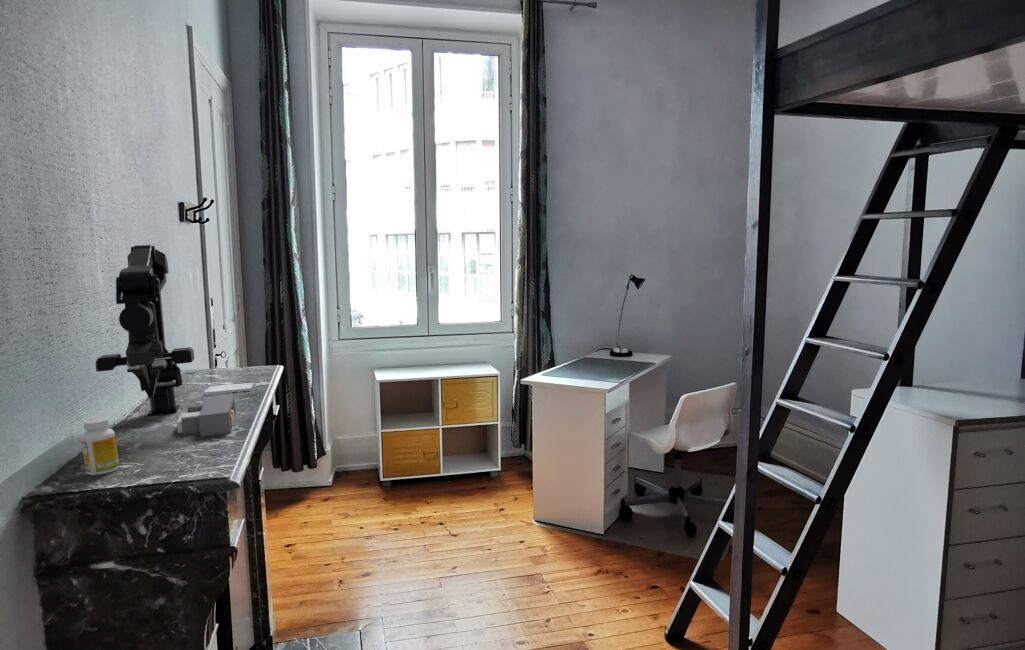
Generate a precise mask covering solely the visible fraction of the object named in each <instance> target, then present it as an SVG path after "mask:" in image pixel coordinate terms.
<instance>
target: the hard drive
mask: <svg viewBox="0 0 1025 650" xmlns="http://www.w3.org/2000/svg"><path fill="white" fill-rule="evenodd" d="M255 385H256V386H257V383H256V382H245V383H234V384H233V383H232V384H222V385H209V387H208V388H206V389H205V390H204V391H203V396H205V397H207V396H216V395H217V394H218V395H224V393H229V394H232V393H231V392H240V391H250V392H252V391H253V390H254V389H255V387H256V386H255ZM253 388H254V389H253ZM252 389H253V390H252ZM240 393H241V392H240Z"/></svg>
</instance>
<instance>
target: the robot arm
mask: <svg viewBox="0 0 1025 650" xmlns="http://www.w3.org/2000/svg"><path fill="white" fill-rule="evenodd" d="M168 264H169V263H168V259H167V255H166V254H165V253H164V252H162V251H160V250H158V249H156V247H155V245H151V244H142V245H139V244H138V245H133V246H131V247H130V253H128V255H127V267H124V268H122V269H121V270H120V271H119V274H118V276H116V279H115V304H116V305H121V304H122V305H124V308H123V309H122V310H121V312H120V314H119V317H118V322H119V325H120V326H121V328H122V329H123V330H125V331H126V332H127V333H128V344H127V347H126V350H125V356H122V355H121V354H120V353H113V354H104V355H101V356H99V357H98V358H96V360H95V371H96V372H106V371H107V372H108V371H113V370H114V369H115V368H116V367H119V366H121V367H122V366H127V369H126V372H127V373H132V374H133V375H134V376H135V378H137V379H138V381H139V385H140V390H141V392H144V391H145V394H146V395H147V397H148V398H149V406H150V410H149V411H148V412H147V416H153V415H154V416H157V415H163V414H171V413H177V412H178V410H179V409H180V404H177V401H176V391H175V387H176V388H178V387H181V386H183V378H182V374H181V373H182V372H181V368H180V367H179V366H178V365H179V364H181V365H182V364H189V363H192V362H194V360H195V352H194V349H193V348H192V347H179V348H173V349H172V350H171V352H170V351H169V350H168V349H167V348H166V336H165V326H164V325H165V324H164V316H163V314H164V313H163V303H162V293H161V292H162V290H163V289H164V287H165V284H167V275H168V274H169V265H168Z"/></svg>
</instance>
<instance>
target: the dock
mask: <svg viewBox="0 0 1025 650" xmlns="http://www.w3.org/2000/svg"><path fill="white" fill-rule="evenodd" d="M186 410H187V412H186V413H191V412H199V411H200V414H199V415H198V416H190V417H182V418H181V422H182V431H183V432H182V435H188V434H196V432H197V433H200V437H207V435H209V436H215V434H217V435H222V434H230V433H232V428H233V426H232V425H234V420H235V417H234V416H236V415H235V414H236V413H235V412H237V411H236V402H235V393H229V394H218V395H207V396H206V398H205V401H204V402H203V404H200V405H199V404H198V405H191V406H187V408H186Z"/></svg>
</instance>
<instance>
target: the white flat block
mask: <svg viewBox="0 0 1025 650" xmlns="http://www.w3.org/2000/svg"><path fill="white" fill-rule="evenodd" d="M199 414H200V411H199V412H191V413H188V412H183V413H181V414H180V415H179V417H178V419H177V420H176V429H177V434H180V433H182V434H183V431H182V422H181V418H182V417H190V416H198V415H199Z"/></svg>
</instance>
